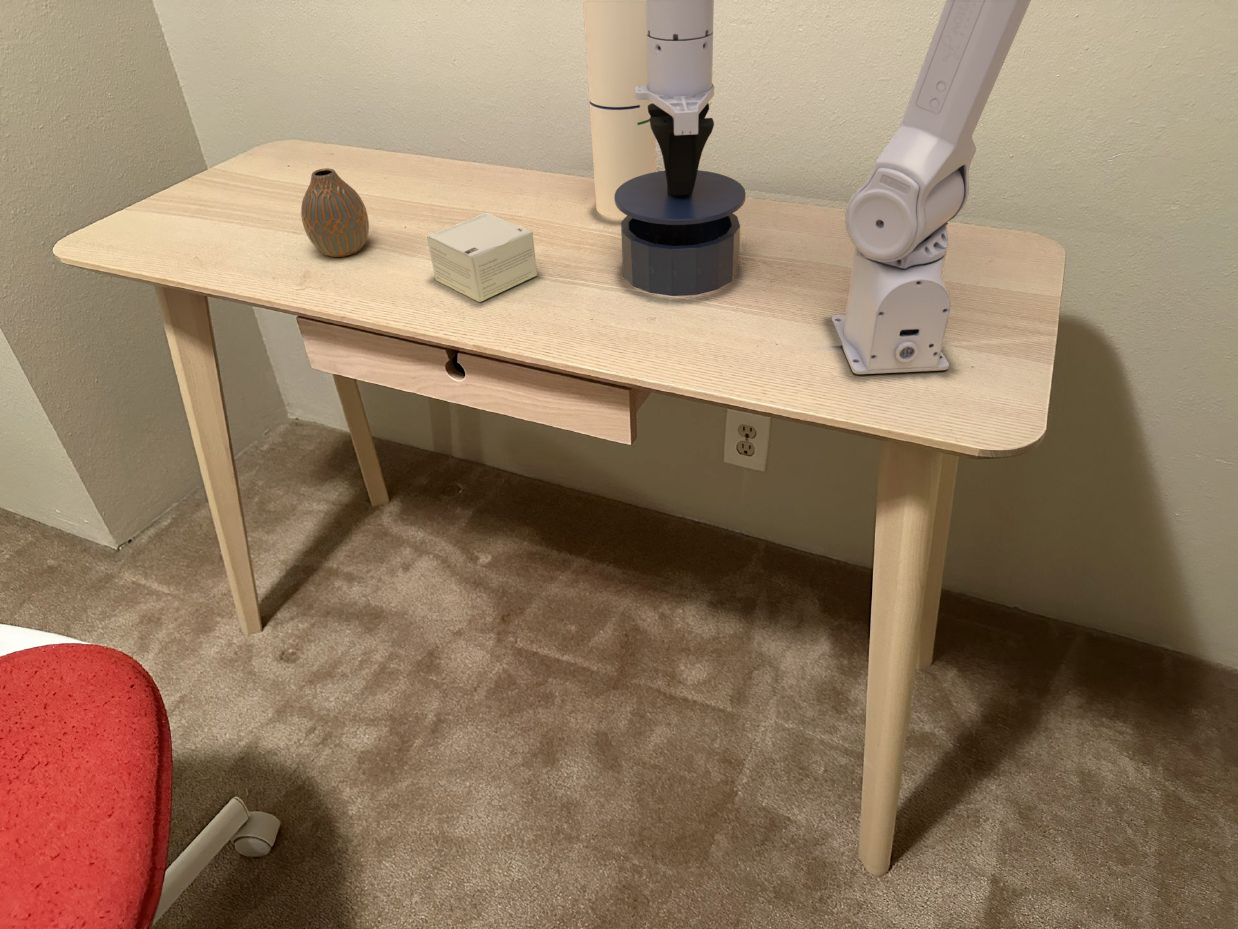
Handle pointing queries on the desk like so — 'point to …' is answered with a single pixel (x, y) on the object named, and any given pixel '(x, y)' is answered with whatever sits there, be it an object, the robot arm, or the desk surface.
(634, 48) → the cylindrical container
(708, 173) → the tin lid
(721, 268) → the tin
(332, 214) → the vase
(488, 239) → the small box
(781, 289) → the desk surface
